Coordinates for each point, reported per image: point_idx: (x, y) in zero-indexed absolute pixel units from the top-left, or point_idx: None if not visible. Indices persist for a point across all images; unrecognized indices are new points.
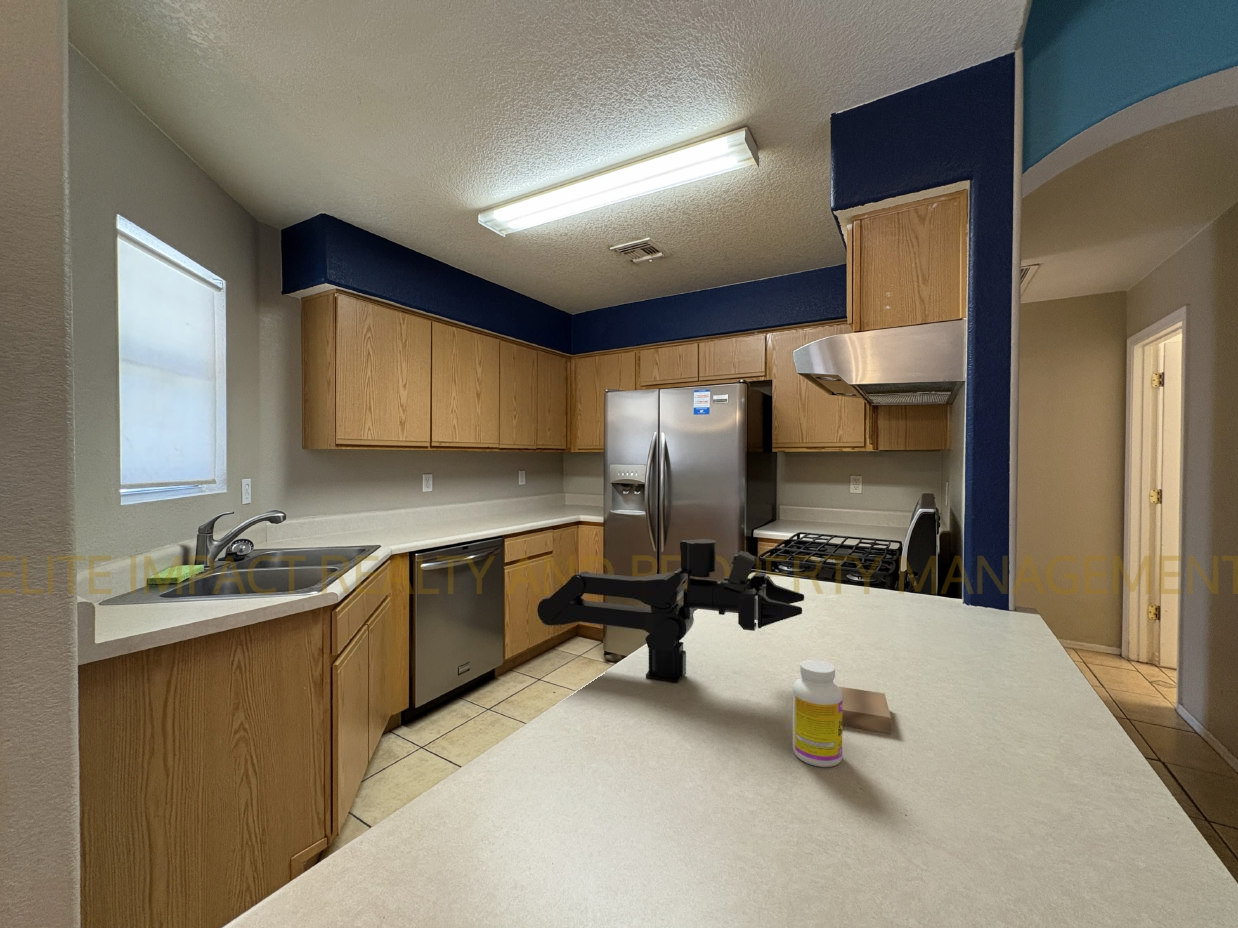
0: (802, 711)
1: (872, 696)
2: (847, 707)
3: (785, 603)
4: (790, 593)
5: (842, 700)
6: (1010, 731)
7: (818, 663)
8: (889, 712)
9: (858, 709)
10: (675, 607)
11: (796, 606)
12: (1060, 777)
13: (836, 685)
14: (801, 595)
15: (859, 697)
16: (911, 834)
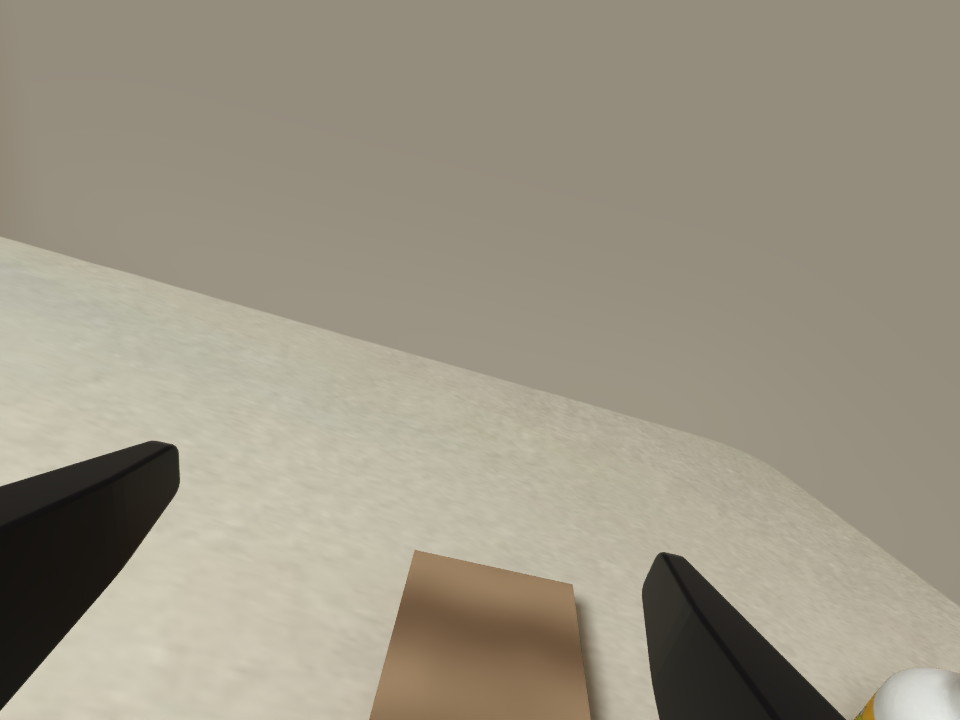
0: None
1: (447, 588)
2: (564, 692)
3: (772, 684)
4: (45, 538)
5: (509, 697)
6: (462, 432)
7: None
8: (541, 578)
9: (560, 658)
10: None
11: (703, 586)
12: (583, 446)
13: (947, 673)
14: (164, 463)
15: (464, 629)
16: None
